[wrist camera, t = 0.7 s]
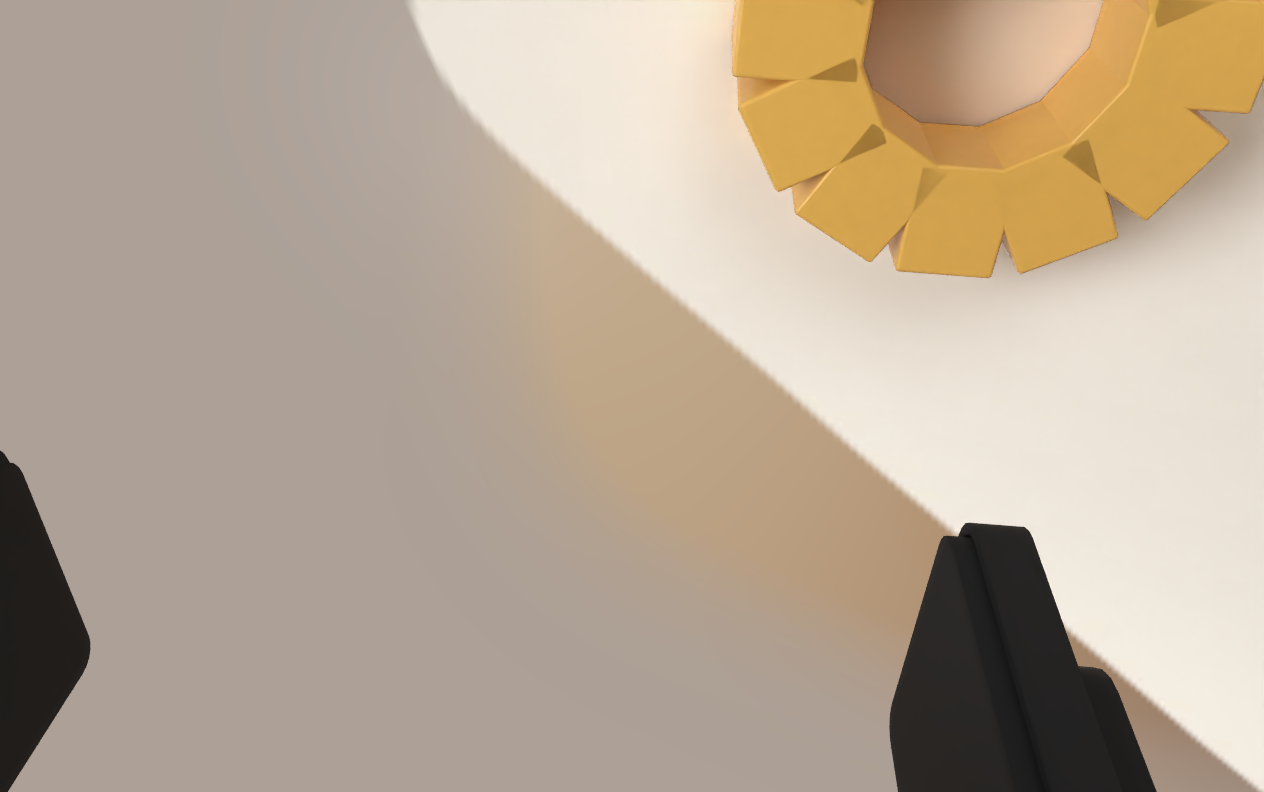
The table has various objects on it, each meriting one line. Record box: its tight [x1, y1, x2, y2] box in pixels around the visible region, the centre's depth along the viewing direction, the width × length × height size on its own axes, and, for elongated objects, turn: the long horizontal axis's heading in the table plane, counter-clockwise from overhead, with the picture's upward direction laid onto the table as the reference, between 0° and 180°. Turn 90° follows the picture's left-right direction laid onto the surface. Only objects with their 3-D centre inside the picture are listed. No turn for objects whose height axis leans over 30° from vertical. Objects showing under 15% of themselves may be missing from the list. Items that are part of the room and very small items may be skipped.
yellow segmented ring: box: [732, 0, 1264, 278], centre depth 19 cm, size 10×10×2 cm
